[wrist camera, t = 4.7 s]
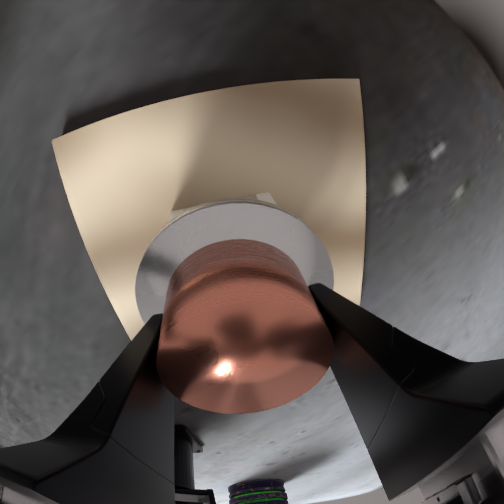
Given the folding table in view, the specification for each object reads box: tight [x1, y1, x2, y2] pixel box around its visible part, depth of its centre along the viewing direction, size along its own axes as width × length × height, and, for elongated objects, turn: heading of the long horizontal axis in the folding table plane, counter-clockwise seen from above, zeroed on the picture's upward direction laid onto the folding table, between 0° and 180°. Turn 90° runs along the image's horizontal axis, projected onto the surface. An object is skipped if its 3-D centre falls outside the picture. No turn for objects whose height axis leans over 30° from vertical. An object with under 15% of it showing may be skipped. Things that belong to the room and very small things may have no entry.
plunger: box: [135, 198, 334, 414], centre depth 10 cm, size 7×7×7 cm
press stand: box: [52, 79, 366, 341], centre depth 12 cm, size 14×14×4 cm
